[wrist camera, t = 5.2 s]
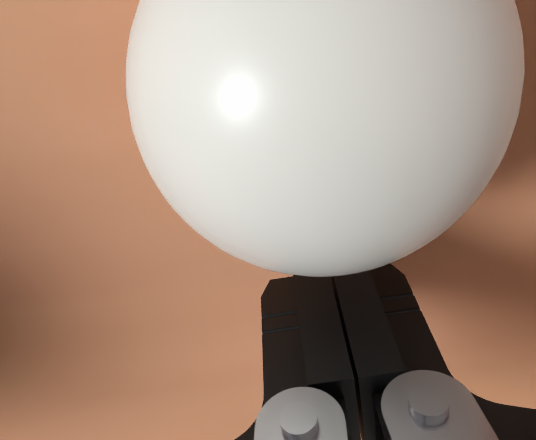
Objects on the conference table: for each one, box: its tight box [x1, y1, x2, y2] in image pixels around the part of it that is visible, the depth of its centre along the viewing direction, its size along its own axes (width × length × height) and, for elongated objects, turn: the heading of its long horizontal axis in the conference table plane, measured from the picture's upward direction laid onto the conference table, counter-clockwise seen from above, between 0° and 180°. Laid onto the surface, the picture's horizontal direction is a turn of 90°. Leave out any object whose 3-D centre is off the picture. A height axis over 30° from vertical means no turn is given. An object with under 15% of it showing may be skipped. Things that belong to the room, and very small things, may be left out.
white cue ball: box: [126, 0, 525, 277], centre depth 7 cm, size 6×6×6 cm
